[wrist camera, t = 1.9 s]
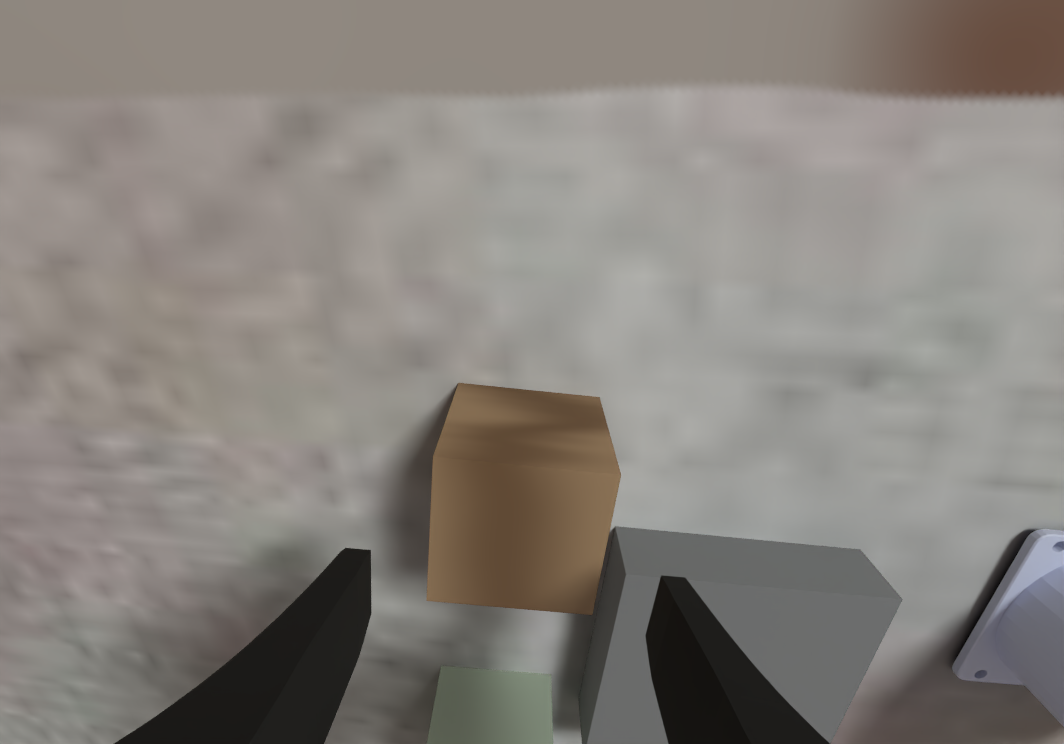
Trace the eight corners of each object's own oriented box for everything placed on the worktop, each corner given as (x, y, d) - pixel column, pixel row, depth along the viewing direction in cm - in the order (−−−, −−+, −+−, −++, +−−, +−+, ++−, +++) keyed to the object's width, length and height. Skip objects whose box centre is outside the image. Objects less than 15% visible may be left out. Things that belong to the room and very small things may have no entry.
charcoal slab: (853, 542, 21) (902, 599, 18) (782, 707, 25) (814, 775, 22) (613, 519, 21) (626, 574, 18) (577, 690, 24) (583, 758, 22)
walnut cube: (599, 396, 18) (620, 475, 14) (578, 511, 20) (592, 615, 16) (458, 381, 18) (432, 456, 14) (451, 499, 20) (426, 600, 15)
